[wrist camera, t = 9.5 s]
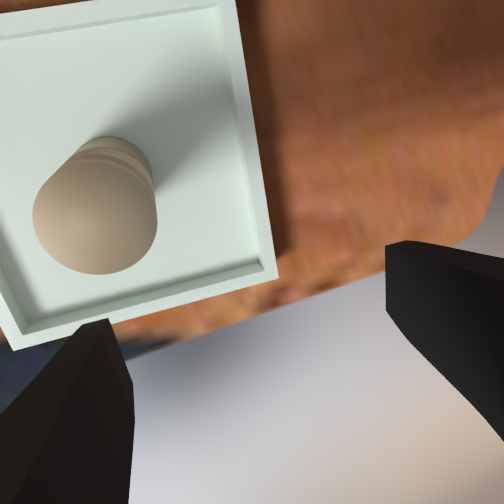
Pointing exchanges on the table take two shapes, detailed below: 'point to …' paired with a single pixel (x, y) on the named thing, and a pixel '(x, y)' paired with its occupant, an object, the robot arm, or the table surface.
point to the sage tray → (142, 136)
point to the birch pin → (98, 208)
